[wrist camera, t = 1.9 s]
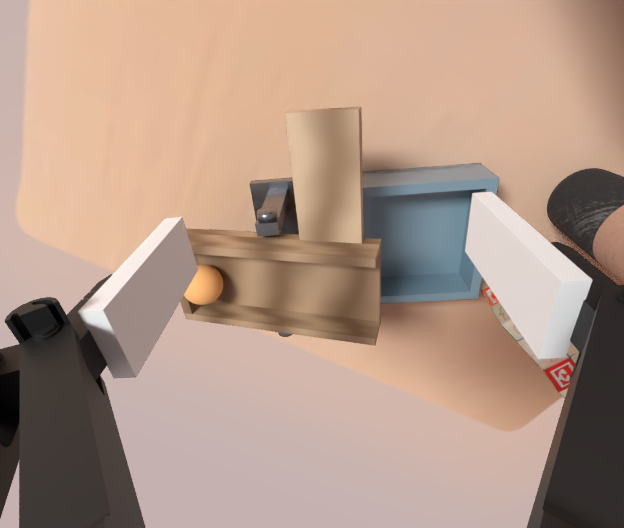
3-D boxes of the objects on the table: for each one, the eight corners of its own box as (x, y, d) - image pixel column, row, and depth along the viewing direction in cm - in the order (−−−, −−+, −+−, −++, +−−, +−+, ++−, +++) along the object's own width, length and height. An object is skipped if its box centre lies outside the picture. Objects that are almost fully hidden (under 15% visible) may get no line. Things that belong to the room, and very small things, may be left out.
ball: (186, 256, 37) (168, 278, 33) (224, 256, 36) (208, 278, 33) (196, 289, 39) (179, 312, 35) (232, 289, 38) (218, 313, 35)
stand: (270, 285, 47) (257, 338, 39) (251, 180, 40) (230, 217, 31) (316, 283, 47) (313, 336, 38) (305, 176, 40) (299, 212, 31)
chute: (216, 285, 44) (186, 319, 38) (169, 112, 34) (120, 126, 29) (384, 303, 38) (375, 345, 33) (387, 99, 28) (375, 114, 23)
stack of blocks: (470, 276, 46) (514, 345, 35) (516, 246, 43) (578, 310, 33) (550, 366, 53) (606, 445, 42) (594, 344, 51) (664, 423, 40)
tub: (359, 280, 46) (362, 304, 42) (355, 172, 39) (359, 188, 35) (463, 274, 45) (478, 298, 41) (479, 162, 38) (499, 177, 34)
